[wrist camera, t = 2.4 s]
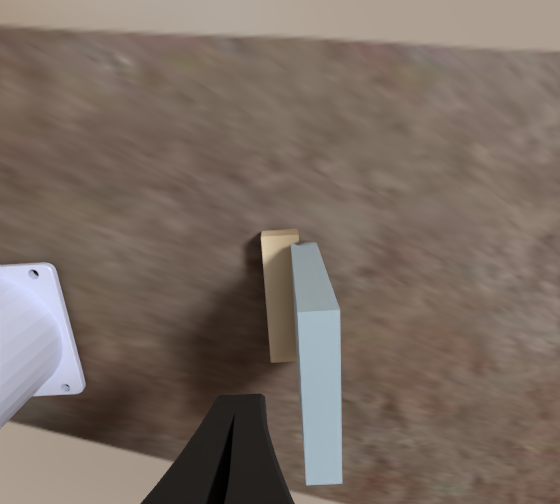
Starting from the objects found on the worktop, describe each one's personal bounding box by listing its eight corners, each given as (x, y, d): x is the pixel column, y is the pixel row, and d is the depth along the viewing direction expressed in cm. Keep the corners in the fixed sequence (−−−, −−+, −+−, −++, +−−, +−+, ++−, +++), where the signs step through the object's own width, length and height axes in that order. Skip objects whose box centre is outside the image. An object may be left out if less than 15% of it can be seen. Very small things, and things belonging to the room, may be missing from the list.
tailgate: (296, 357, 19) (306, 485, 12) (290, 241, 17) (297, 312, 10) (319, 356, 19) (342, 483, 12) (315, 240, 17) (340, 309, 10)
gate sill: (271, 350, 20) (270, 362, 19) (262, 230, 18) (261, 236, 17) (303, 348, 20) (304, 361, 19) (297, 228, 18) (298, 234, 17)
